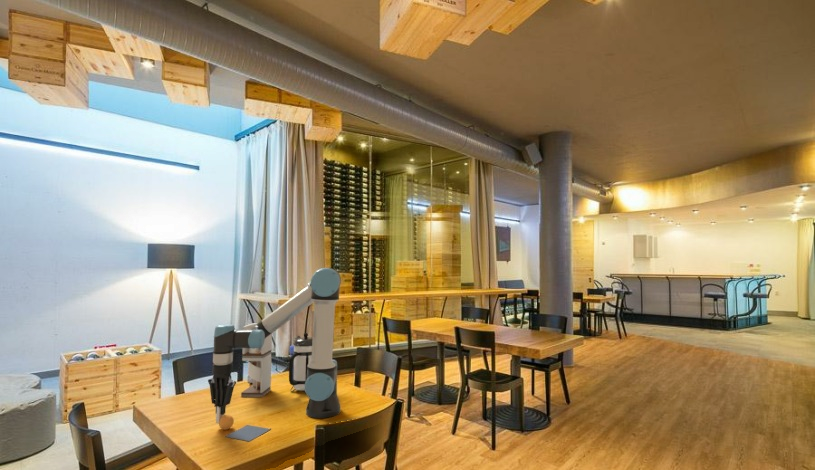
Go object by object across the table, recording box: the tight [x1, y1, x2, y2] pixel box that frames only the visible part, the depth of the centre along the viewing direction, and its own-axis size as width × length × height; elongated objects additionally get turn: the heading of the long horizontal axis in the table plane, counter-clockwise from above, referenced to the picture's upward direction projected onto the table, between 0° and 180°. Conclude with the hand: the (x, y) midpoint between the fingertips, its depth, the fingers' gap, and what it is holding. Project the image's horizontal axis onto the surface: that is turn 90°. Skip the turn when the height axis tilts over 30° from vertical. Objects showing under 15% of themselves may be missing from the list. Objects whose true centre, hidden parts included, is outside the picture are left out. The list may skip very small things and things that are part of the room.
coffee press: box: [288, 332, 313, 395], centre depth 212 cm, size 17×16×30 cm
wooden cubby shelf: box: [240, 322, 273, 398], centre depth 209 cm, size 11×11×35 cm
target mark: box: [224, 424, 271, 442], centre depth 157 cm, size 12×12×1 cm
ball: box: [218, 414, 235, 431], centre depth 162 cm, size 6×6×6 cm
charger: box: [247, 374, 253, 384], centre depth 229 cm, size 5×9×15 cm
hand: (219, 422), depth 163 cm, fingers closed
